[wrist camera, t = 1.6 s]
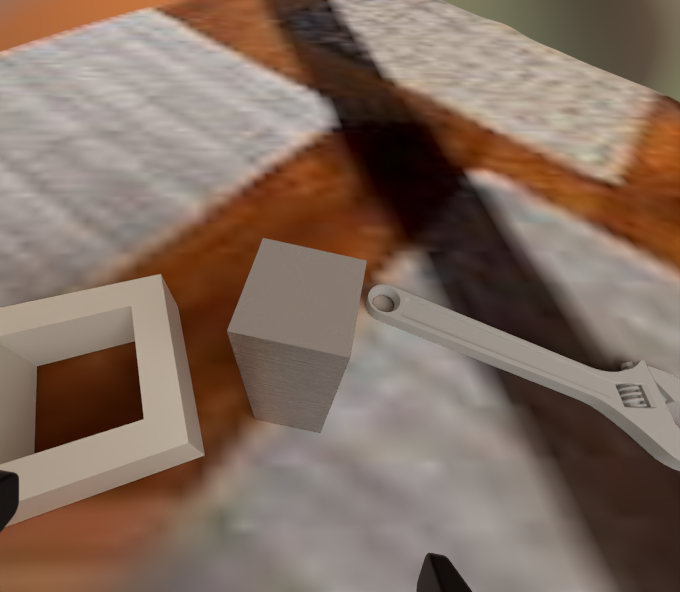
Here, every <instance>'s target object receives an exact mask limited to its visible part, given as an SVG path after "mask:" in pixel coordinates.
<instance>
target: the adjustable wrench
mask: <svg viewBox="0 0 680 592" xmlns="http://www.w3.org/2000/svg"><path fill="white" fill-rule="evenodd" d="M378 295H383V296H387V297H389V298H390V299H391V300H392V301H393V302H394V309H393V311H391V312H383V311H380V310H378V309H377V308H376V307H375V306H374V305H373V299H374V298H375V297H376V296H378ZM366 309H367V311H368V313H369V314H370V315H371V316H372V317H373V318H375V319H377V320H379V321H381V322H384V323H386V324H389V325H391V326H394V327H396V328H399V329H401V330H404V331H407V332H409V333H412V334H414V335H417V336H419V337H422V338H424V339H427V340H429V341H432V342H434V343H437V344H439V345H442V346H444V347H447V348H449V349H452V350H454V351H457V352H460V353H462V354H465V355H467V356H470V357H472V358H475V359H477V360H480V361H482V362H485V363H487V364H490V365H492V366H495V367H497V368H500V369H502V370H505V371H508V372H510V373H513V374H515V375H518V376H520V377H523V378H525V379H528V380H530V381H533V382H535V383H538V384H540V385H543V386H545V387H548V388H550V389H553V390H555V391H558V392H561V393H563V394H566V395H568V396H571V397H573V398H576V399H578V400H580V401H582V402H584V403H586V404H588V405H590V406H592V407H593V408H595V409H596V410H598V411H599V412H601V413H602V414H604V415H605V416H606V417H607V418H609V419H610V420H611V421H613V422H614V423H615V424H616V425H618V426H619V427H620V428H621V429H623V430H624V431H625V432H626V433H627V434H629V435H630V436H631V437H632V438H633V439H634V440H635V441H636V442H637V443H639V444H640V445H641V446H642V447H643V448H644V449H645V450H646V451H647V452H649V453H650V454H651V455H652V456H653V457H654V458H655V459H657V460H658V461H660V462H661V463H663V464H665V465H667V466H669V467H671V468H673V469H675V470H678V471H680V428H679V427H678V426H677V425H676V424H675V422H674V420H673V418H672V416H671V414H670V412H669V409H668V407H667V406H680V379H678V378H677V377H675V376H673V375H671V374H669V373H666V372H664V371H662V370H659V369H656V368H653V367H649V366H647V365H646V363H645V361H644V360H641V361H639V362H636V363H633V362H625V363H622V364H621V365H620V367H621V369H622V371H619V372H607V371H601V370H597V369H594V368H591V367H588V366H586V365H584V364H581V363H579V362H576V361H574V360H571V359H569V358H566V357H564V356H562V355H559V354H557V353H554V352H552V351H549V350H547V349H544V348H542V347H540V346H537V345H535V344H532V343H530V342H527V341H525V340H522V339H520V338H518V337H515V336H513V335H510V334H508V333H505V332H503V331H500V330H498V329H496V328H493V327H491V326H488V325H486V324H483V323H481V322H478V321H476V320H474V319H471V318H469V317H466V316H464V315H461V314H459V313H457V312H454V311H452V310H449V309H447V308H444V307H442V306H439V305H437V304H435V303H432V302H430V301H427V300H425V299H422V298H420V297H417V296H415V295H413V294H410V293H408V292H405V291H403V290H400V289H398V288H395V287H393V286H390V285H386V284H380V285H377V286H374V287H373V288H372V289H371V290H370V292H369V294H368V297H367V300H366Z"/></svg>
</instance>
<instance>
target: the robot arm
mask: <svg viewBox="0 0 680 592" xmlns="http://www.w3.org/2000/svg"><path fill="white" fill-rule="evenodd" d="M18 505H19V476H18V475H17V473H14V472H9V471H4V470H0V532H1V531H2V530H3V529H4V527H5V526H6V525H7V524H8V523H9V521H10V520H11V519H12V517H13V516H14V514H15V513H16V511H17V509H18ZM417 592H472V591H471V589H470V588H469V586H468V585H467V584H466V582H465V581H464V580H463V578H462V577H461V575H460V574H459V573H458V571H457V570H456V569H455V567H454V566H453V564H452V563H451V562H450V560H449V559H448V558H447V557H446V556H444V555H439V554H434V553H428V554H427V555H426V557H425V559H424V563H423V566H422V569H421V572H420V575H419V578H418V582H417Z"/></svg>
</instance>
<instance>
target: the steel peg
mask: <svg viewBox="0 0 680 592" xmlns="http://www.w3.org/2000/svg"><path fill="white" fill-rule="evenodd" d="M366 262H367V261H366V260H361V259H357V258H352V257H348V256H343V255H339V254H334V253H329V252H325V251H320V250H316V249H311V248H307V247H302V246H297V245H293V244H288V243H284V242H279V241H275V240H270V239H265V238H263V240H262V242H261V245H260V247H259V250H258V253H257V255H256V258H255V260H254V263H253V265H252V268H251V271H250V273H249V276H248V278H247V281H246V283H245V286H244V288H243V291H242V294H241V296H240V299H239V301H238V304H237V306H236V309H235V312H234V314H233V317H232V319H231V322H230V324H229V327H228V330H227V333H228V336H229V339H230V342H231V346H232V349H233V352H234V355H235V358H236V361H237V364H238V367H239V371H240V374H241V377H242V380H243V383H244V386H245V389H246V393H247V396H248V399H249V402H250V405H251V408H252V411H253V415H254V418H255V419H256V420H261V421H266V422H270V423H275V424H280V425H284V426H289V427H294V428H299V429H303V430H308V431H313V432H318V433H320V432H321V430H322V427H323V425H324V422H325V420H326V417H327V415H328V412H329V410H330V407H331V405H332V402H333V400H334V397H335V395H336V392H337V390H338V387H339V385H340V382H341V379H342V377H343V374H344V372H345V369H346V367H347V364H348V362H349V359H350V356H351V350H352V344H353V338H354V332H355V326H356V320H357V315H358V309H359V303H360V297H361V291H362V285H363V279H364V273H365V268H366Z"/></svg>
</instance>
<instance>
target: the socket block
mask: <svg viewBox="0 0 680 592" xmlns="http://www.w3.org/2000/svg"><path fill="white" fill-rule="evenodd" d="M134 341H135V344H136V353H137V362H138V371H139V380H140V389H141V398H142V407H143V416H144V419H143V420H140V421H137V422H133V423H130V424H127V425H124V426H121V427H118V428H114V429H111V430H108V431H105V432H102V433H99V434H95V435H92V436H89V437H86V438H83V439H80V440H76V441H73V442H70V443H67V444H64V445H61V446H57V447H54V448H51V449H48V450H45V451H42V452H39V453H35V454H34V450H35V418H36V385H37V366H40V365H44V364H48V363H52V362H56V361H60V360H64V359H68V358H72V357H76V356H79V355H83V354H87V353H91V352H95V351H99V350H103V349H107V348H111V347H115V346H118V345H122V344H126V343H130V342H134ZM202 456H205V453H204V447H203V442H202V436H201V431H200V425H199V420H198V414H197V409H196V403H195V398H194V392H193V387H192V381H191V376H190V370H189V365H188V359H187V354H186V348H185V343H184V337H183V332H182V326H181V321H180V315H179V310H178V306H177V304H176V302H175V300H174V298H173V296H172V295H171V293H170V291H169V289H168V287H167V285H166V283H165V281H164V279H163V277H162V275H161V274H158V275H153V276H149V277H144V278H139V279H134V280H130V281H125V282H120V283H115V284H111V285H106V286H101V287H96V288H92V289H87V290H82V291H77V292H73V293H68V294H63V295H58V296H54V297H49V298H44V299H40V300H35V301H30V302H25V303H21V304H16V305H11V306H6V307H2V308H0V470H4V471H9V472H14V473H17V475H18V476H19V505H18V509H17V511H16V513H15V514H14V516H13V517H12V519H11V520H10V521H9V523H8V524H7V525H6V526H5V527H7V526H10V525H13V524H16V523H18V522H21V521H24V520H27V519H29V518H32V517H35V516H38V515H41V514H43V513H46V512H49V511H52V510H54V509H57V508H60V507H63V506H66V505H68V504H71V503H74V502H77V501H79V500H82V499H85V498H88V497H91V496H93V495H96V494H99V493H102V492H105V491H107V490H110V489H113V488H116V487H118V486H121V485H124V484H127V483H130V482H132V481H135V480H138V479H141V478H143V477H146V476H149V475H152V474H155V473H157V472H160V471H163V470H166V469H169V468H171V467H174V466H177V465H180V464H182V463H185V462H188V461H191V460H194V459H196V458H199V457H202Z"/></svg>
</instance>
